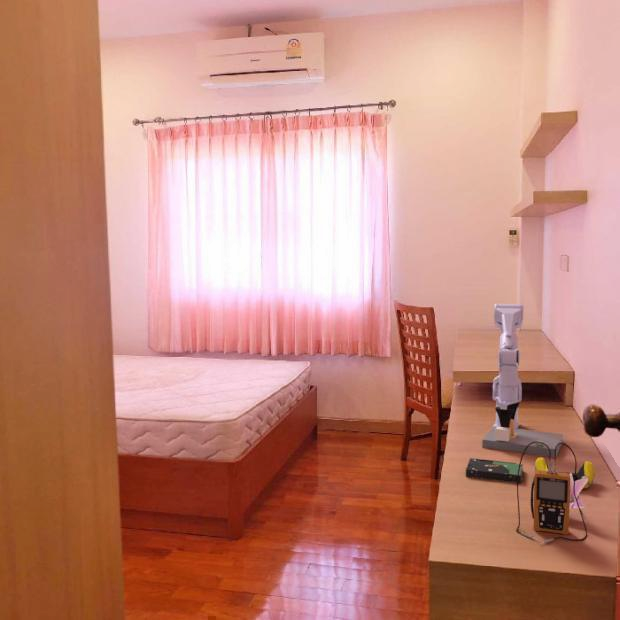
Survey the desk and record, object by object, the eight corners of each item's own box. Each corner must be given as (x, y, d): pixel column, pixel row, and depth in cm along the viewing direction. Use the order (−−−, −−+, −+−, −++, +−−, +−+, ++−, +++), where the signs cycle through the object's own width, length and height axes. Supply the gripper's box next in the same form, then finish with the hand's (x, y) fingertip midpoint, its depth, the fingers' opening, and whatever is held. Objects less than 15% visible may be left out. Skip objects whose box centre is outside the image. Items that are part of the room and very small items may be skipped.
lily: (548, 505, 152) (533, 476, 149) (596, 493, 148) (582, 462, 145) (556, 541, 141) (541, 509, 138) (608, 528, 137) (594, 495, 134)
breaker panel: (494, 432, 211) (494, 422, 211) (562, 441, 200) (563, 430, 200) (482, 447, 195) (482, 435, 195) (555, 457, 185) (556, 445, 184)
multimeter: (514, 542, 130) (516, 450, 128) (516, 523, 139) (518, 437, 138) (590, 553, 125) (593, 458, 123) (586, 533, 134) (589, 444, 133)
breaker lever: (497, 437, 196) (497, 426, 196) (510, 439, 194) (510, 428, 194) (495, 439, 193) (495, 428, 193) (508, 441, 191) (508, 430, 191)
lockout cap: (504, 432, 202) (504, 415, 202) (515, 434, 200) (516, 418, 199) (498, 435, 199) (499, 418, 199) (510, 437, 197) (511, 420, 196)
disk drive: (465, 479, 169) (522, 485, 164) (465, 469, 169) (522, 474, 164) (469, 467, 179) (523, 472, 174) (469, 457, 179) (523, 462, 173)
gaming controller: (534, 474, 171) (536, 487, 161) (534, 455, 170) (537, 467, 161) (592, 479, 167) (598, 493, 157) (593, 460, 166) (599, 472, 157)
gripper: (500, 380, 207) (499, 419, 208) (490, 388, 194) (489, 430, 195) (521, 382, 203) (521, 422, 204) (513, 390, 190) (512, 433, 192)
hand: (507, 426), depth 199 cm, fingers open, 7 cm apart
